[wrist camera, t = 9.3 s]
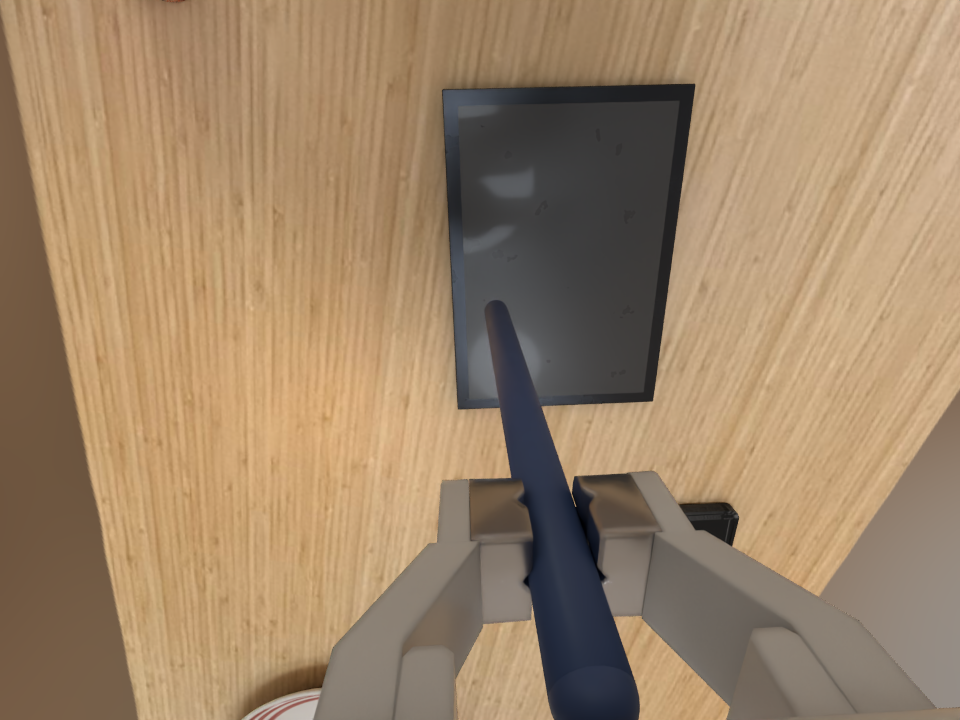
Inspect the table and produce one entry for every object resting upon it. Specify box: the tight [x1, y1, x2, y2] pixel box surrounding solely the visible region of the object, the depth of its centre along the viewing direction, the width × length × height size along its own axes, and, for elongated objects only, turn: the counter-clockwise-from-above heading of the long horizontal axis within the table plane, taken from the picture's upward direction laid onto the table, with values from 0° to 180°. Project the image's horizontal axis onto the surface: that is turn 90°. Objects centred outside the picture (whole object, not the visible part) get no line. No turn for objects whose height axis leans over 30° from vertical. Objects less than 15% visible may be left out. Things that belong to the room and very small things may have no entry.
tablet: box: [442, 84, 695, 409], centre depth 36 cm, size 24×17×1 cm
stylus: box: [484, 300, 640, 720], centre depth 14 cm, size 1×1×18 cm
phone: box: [679, 503, 739, 546], centre depth 47 cm, size 8×1×15 cm
